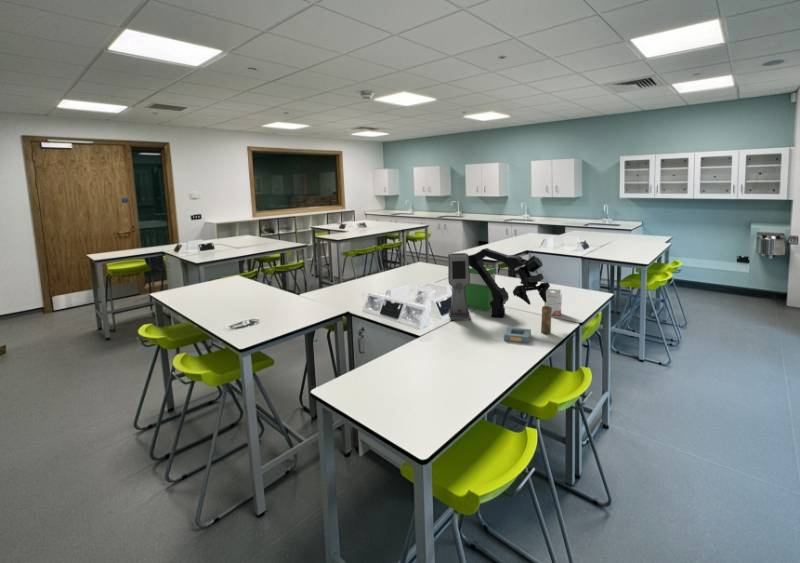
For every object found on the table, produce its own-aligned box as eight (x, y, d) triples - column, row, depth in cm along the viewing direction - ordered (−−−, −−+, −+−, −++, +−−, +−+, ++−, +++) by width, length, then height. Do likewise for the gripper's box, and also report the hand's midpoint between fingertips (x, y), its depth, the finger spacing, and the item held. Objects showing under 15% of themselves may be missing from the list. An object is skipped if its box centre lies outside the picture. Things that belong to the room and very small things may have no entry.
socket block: (503, 340, 203) (503, 334, 203) (507, 332, 213) (507, 327, 213) (527, 343, 199) (528, 337, 198) (530, 335, 209) (530, 329, 208)
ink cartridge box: (561, 313, 240) (562, 287, 237) (560, 316, 236) (561, 289, 232) (545, 311, 244) (546, 286, 241) (543, 314, 240) (544, 288, 236)
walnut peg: (540, 333, 210) (541, 308, 207) (541, 330, 214) (542, 305, 211) (550, 334, 209) (551, 309, 206) (550, 331, 213) (552, 306, 210)
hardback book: (462, 306, 261) (462, 267, 256) (469, 303, 266) (469, 265, 261) (487, 311, 249) (488, 270, 244) (494, 308, 254) (495, 268, 249)
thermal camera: (467, 313, 247) (468, 252, 239) (471, 320, 235) (471, 256, 227) (447, 313, 247) (446, 253, 240) (449, 320, 235) (449, 257, 227)
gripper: (516, 270, 214) (528, 297, 206) (548, 266, 219) (561, 292, 212) (507, 282, 223) (519, 308, 215) (538, 278, 228) (550, 304, 221)
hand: (537, 303), depth 215 cm, fingers open, 9 cm apart
